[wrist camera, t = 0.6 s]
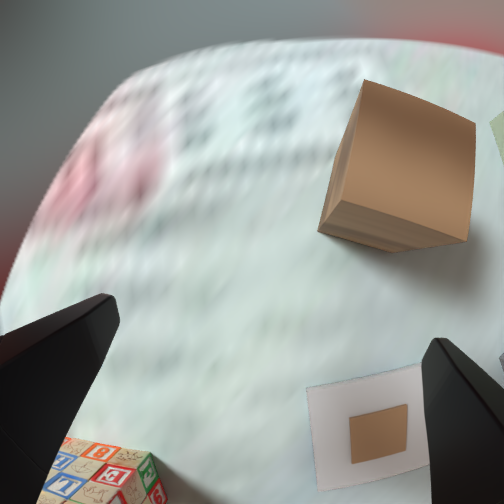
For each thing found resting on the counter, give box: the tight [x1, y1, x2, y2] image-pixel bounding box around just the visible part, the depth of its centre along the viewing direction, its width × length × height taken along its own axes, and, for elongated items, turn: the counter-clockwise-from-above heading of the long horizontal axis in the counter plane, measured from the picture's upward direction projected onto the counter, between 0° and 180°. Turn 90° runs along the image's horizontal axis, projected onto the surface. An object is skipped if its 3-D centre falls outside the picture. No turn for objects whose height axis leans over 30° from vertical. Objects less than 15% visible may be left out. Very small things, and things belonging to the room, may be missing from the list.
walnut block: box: [317, 79, 476, 253], centre depth 15 cm, size 6×6×10 cm
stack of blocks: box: [36, 437, 168, 504], centre depth 16 cm, size 21×6×12 cm, turn 98°
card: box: [306, 362, 430, 492], centre depth 19 cm, size 10×10×1 cm
